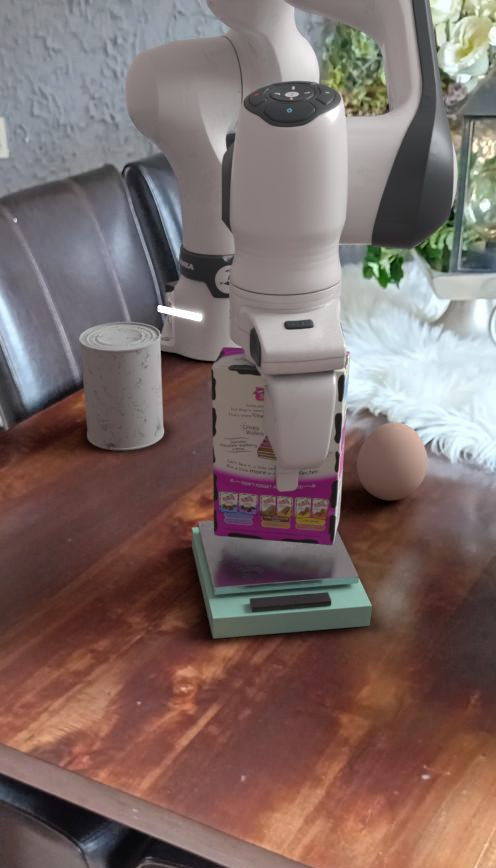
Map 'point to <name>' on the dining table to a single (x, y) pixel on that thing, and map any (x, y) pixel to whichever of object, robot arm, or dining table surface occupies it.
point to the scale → (280, 606)
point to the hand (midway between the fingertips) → (277, 469)
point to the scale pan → (272, 563)
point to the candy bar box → (268, 463)
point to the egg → (392, 461)
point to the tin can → (122, 385)
